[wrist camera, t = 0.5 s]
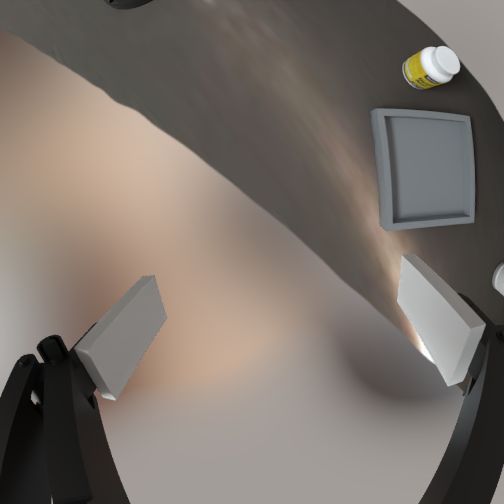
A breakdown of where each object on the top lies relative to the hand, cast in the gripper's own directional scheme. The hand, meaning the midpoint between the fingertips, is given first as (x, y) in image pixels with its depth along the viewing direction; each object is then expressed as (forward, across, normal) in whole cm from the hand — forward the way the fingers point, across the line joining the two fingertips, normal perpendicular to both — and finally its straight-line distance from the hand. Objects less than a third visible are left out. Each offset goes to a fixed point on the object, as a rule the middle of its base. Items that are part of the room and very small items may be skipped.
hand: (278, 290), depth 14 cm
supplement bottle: (+27, +24, +19) cm, 40 cm away
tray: (+26, +23, +4) cm, 35 cm away
